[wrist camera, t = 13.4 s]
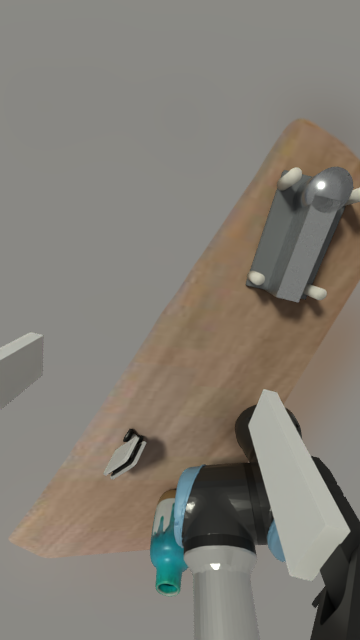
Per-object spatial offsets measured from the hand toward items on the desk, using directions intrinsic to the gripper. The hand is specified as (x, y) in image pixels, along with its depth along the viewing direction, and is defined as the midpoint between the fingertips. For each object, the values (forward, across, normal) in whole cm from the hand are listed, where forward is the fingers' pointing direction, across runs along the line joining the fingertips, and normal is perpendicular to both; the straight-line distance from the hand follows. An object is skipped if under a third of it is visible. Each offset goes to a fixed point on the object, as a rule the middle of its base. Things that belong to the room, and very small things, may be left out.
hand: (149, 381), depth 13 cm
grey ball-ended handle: (+34, +18, +13) cm, 40 cm away
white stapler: (+33, -7, -49) cm, 60 cm away
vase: (+35, +12, -61) cm, 71 cm away
